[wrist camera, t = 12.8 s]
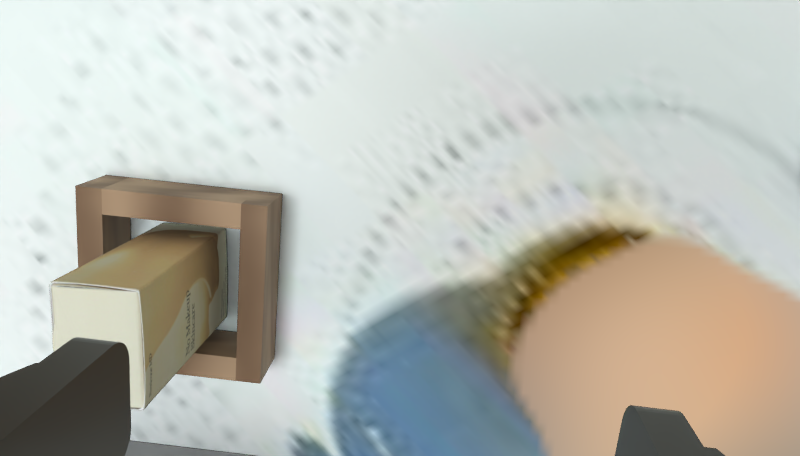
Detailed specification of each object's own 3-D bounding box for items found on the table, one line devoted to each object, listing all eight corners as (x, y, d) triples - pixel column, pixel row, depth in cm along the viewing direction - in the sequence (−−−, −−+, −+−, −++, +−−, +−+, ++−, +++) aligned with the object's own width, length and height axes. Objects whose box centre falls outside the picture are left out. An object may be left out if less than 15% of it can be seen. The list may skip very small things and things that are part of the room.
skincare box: (229, 317, 42) (147, 419, 30) (163, 313, 42) (56, 412, 31) (227, 221, 41) (140, 289, 29) (159, 216, 41) (44, 282, 29)
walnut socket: (282, 193, 40) (267, 206, 36) (274, 357, 43) (260, 383, 39) (106, 175, 40) (75, 185, 37) (109, 338, 43) (81, 362, 40)
